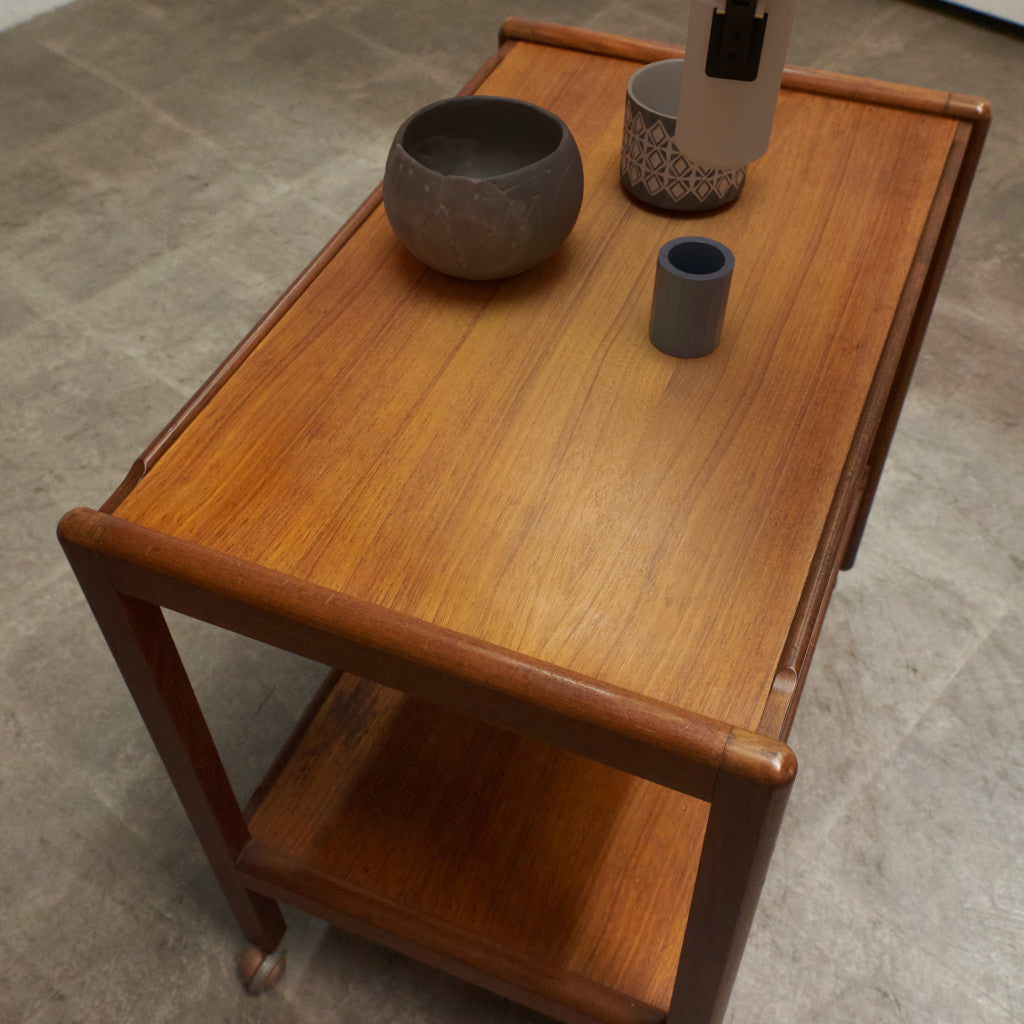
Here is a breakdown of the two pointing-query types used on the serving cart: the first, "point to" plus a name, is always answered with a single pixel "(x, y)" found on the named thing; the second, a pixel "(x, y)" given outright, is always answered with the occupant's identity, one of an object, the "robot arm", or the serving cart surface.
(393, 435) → the serving cart surface
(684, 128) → the beverage can
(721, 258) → the cup
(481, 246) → the bowl
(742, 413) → the serving cart surface
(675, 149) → the planter
